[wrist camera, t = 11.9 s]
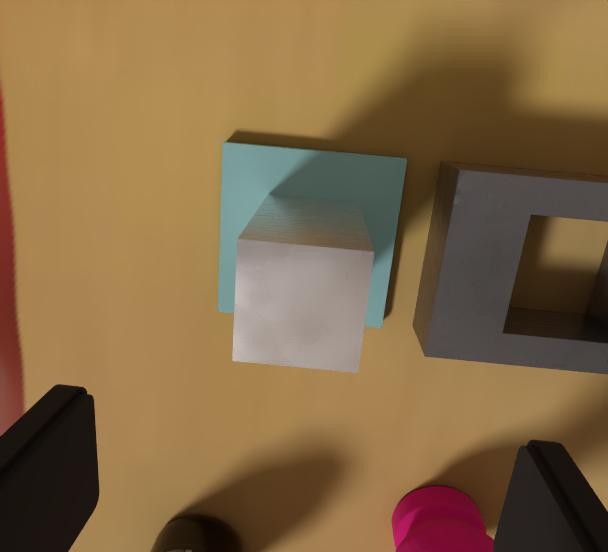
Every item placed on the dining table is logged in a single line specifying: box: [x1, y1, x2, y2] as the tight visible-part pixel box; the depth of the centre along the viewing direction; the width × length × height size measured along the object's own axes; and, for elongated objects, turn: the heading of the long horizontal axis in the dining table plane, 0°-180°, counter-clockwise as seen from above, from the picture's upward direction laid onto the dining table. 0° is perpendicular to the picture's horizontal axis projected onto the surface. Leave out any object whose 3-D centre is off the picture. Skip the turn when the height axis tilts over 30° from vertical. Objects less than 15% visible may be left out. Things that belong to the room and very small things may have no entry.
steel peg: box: [232, 194, 374, 373], centre depth 23 cm, size 5×5×10 cm
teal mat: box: [218, 142, 407, 328], centre depth 28 cm, size 10×10×1 cm
